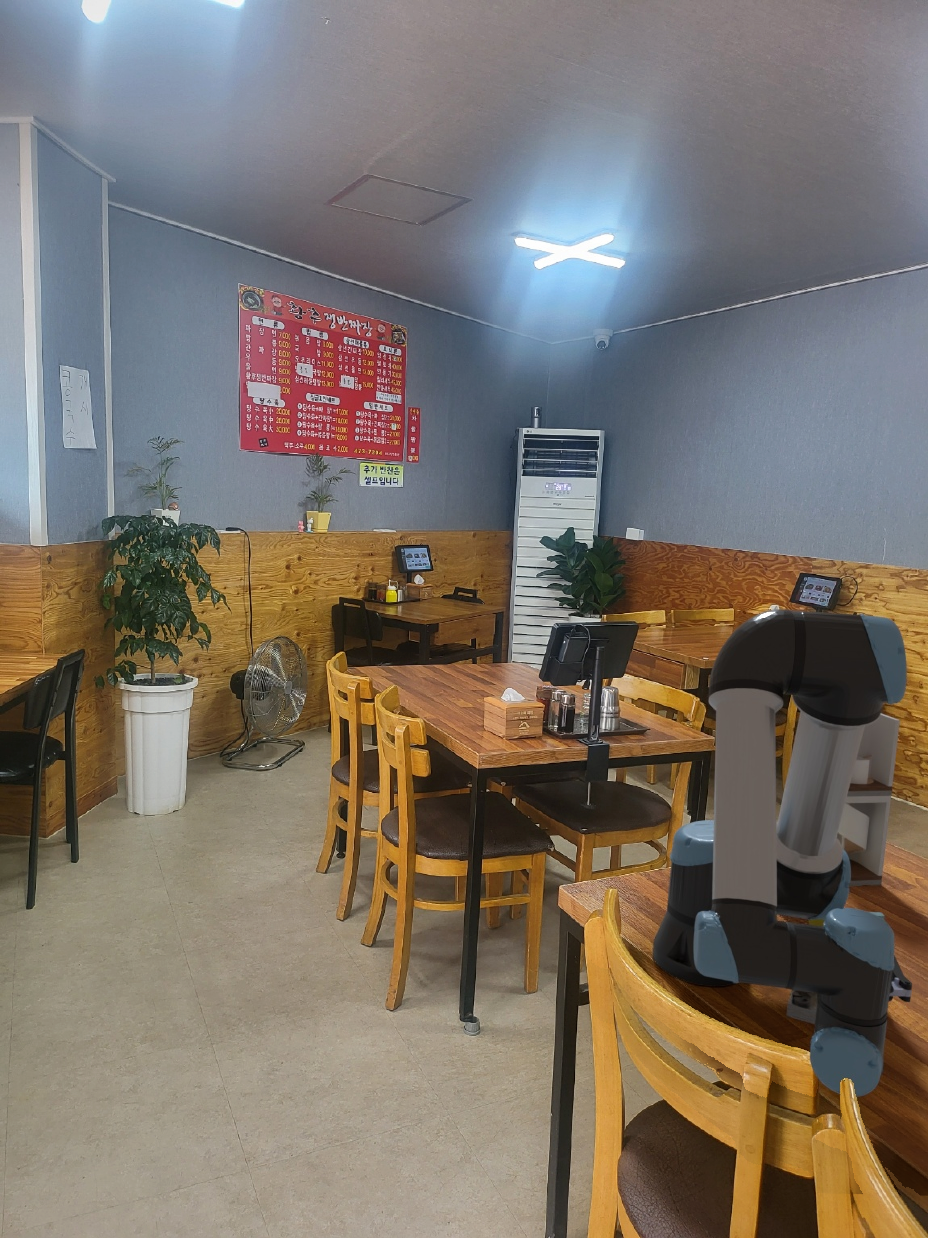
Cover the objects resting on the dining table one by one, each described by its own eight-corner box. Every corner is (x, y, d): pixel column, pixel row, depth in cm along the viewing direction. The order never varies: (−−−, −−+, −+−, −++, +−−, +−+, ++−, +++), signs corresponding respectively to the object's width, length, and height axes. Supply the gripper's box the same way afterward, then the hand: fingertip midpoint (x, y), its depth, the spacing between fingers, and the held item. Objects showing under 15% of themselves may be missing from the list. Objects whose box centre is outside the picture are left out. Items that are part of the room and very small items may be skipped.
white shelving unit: (803, 864, 184) (818, 706, 180) (846, 862, 186) (863, 707, 182) (834, 887, 173) (852, 720, 168) (881, 885, 175) (899, 720, 170)
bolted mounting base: (875, 1043, 121) (878, 1018, 120) (786, 1016, 126) (788, 992, 126) (881, 978, 138) (884, 957, 138) (803, 957, 144) (805, 936, 143)
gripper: (798, 1015, 112) (819, 942, 132) (908, 1049, 106) (912, 966, 126) (803, 962, 111) (824, 896, 132) (915, 993, 105) (918, 919, 125)
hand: (867, 930), depth 129 cm, fingers closed
